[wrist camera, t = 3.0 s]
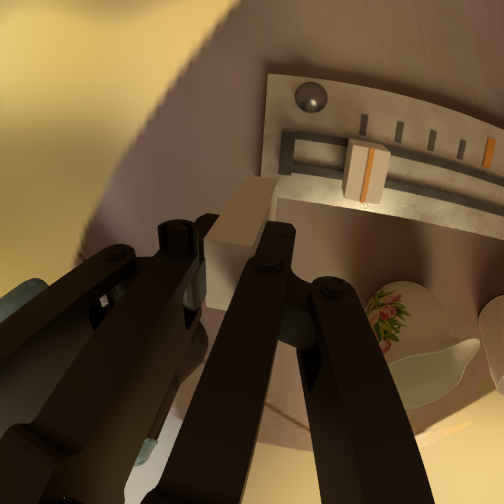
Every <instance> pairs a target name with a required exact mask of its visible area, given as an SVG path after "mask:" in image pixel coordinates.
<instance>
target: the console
mask: <svg viewBox="0 0 504 504" xmlns="http://www.w3.org/2000/svg"><path fill="white" fill-rule="evenodd" d="M349 139H355V140H360V141H365V142H370V143H375V144H380V145H383V146H384V147H385V148H387V149H388V150H389V151H390V152H391V154H390V159H389V165H388V170H387V175H386V180H385V184H384V189H383V194H382V198H381V202H380V205H377V204H371V203H366V202H365V204H364V203H360V201H354V200H348V199H344V196H343V192H342V188H341V186H342V180H343V174H344V167H345V161H346V154H347V148H348V141H349ZM261 177H267V178H275V179H279V183H278V193H277V197H278V198H286V199H293V200H300V201H307V202H314V203H321V204H327V205H333V206H340V207H346V208H352V209H358V210H364V211H369V212H375V213H381V214H386V215H392V216H397V217H402V218H407V219H412V220H417V221H422V222H427V223H432V224H437V225H441V226H446V227H451V228H455V229H460V230H464V231H468V232H473V233H477V234H481V235H485V236H489V237H494V238H498V239H502V240H504V130H503V129H500V128H498V127H496V126H493V125H491V124H488V123H486V122H484V121H481V120H478V119H476V118H473V117H471V116H468V115H465V114H462V113H460V112H457V111H454V110H451V109H448V108H445V107H442V106H439V105H435V104H432V103H429V102H426V101H422V100H419V99H415V98H411V97H408V96H404V95H400V94H396V93H392V92H388V91H383V90H379V89H374V88H369V87H365V86H359V85H354V84H349V83H343V82H337V81H330V80H323V79H316V78H308V77H300V76H290V75H279V74H268V80H267V95H266V109H265V123H264V138H263V152H262V166H261Z"/></svg>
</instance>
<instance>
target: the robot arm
mask: <svg viewBox="0 0 504 504" xmlns="http://www.w3.org/2000/svg"><path fill="white" fill-rule="evenodd" d="M278 183H279V179H275V178H267V177H259V176H250V175H248V176H247V178H246V179H245V181H244V182H243V183H242V185H241V186H240V188H239V189H238V190H237V192H236V193H235V195H234V196H233V197H232V199H231V200H230V202H229V203H228V204H227V206H226V207H225V209H224V210H223V212H222V213H221V214H220V215H217V214H209V213H206V214H204V215H202V216H200V217H198V218H197V220H196V221H195V222H194V223H193V222H192V221H188V220H180V219H176V220H169V221H166V222H163V223H161V224H160V225H158V226H157V227H158V237H159V246H160V249H159V250H158V252H157V253H156V254H155V255H154V256H153V257H136V255H135V251H134V248H132V247H131V246H129V245H125V244H115V245H112V246H109V247H107V248H105V249H103V250H101V251H100V252H98V253H97V254H95V255H94V256H92V257H91V258H89V259H88V260H86V261H85V262H83V263H82V264H80V265H79V266H77V267H76V268H74V269H73V270H71V271H70V272H68V273H67V274H66V275H64V276H63V277H61V278H60V279H58V280H57V281H56V282H54V283H53V284H51V285H50V286H49V285H48V284H47V283H46V282H45V281H43V280H41V279H38V278H32V279H29V280H27V281H25V282H23V283H21V284H20V285H18V286H17V287H16V288H14V289H13V290H11V291H10V292H8V293H7V294H6V295H4V296H3V297H2V298H1V299H0V504H124V502H125V498H124V488H125V485H126V482H127V480H128V478H129V475H130V473H131V470H132V468H133V466H140V465H142V464H144V463H145V462H146V461H147V460H148V458H149V456H150V454H151V452H152V450H153V449H154V447H155V445H156V444H157V442H158V441H157V439H158V437H159V435H160V432H161V430H162V427H163V425H164V422H165V420H166V417H167V415H168V413H169V410H170V408H171V405H172V403H173V401H174V398H175V396H176V393H177V391H178V389H179V386H180V385H181V384H182V383H183V382H184V381H185V380H186V379H187V378H188V377H189V376H190V375H191V374H192V373H193V371H194V370H195V369H196V368H197V367H198V366H199V365H200V364H201V363H202V361H203V359H204V357H205V354H206V352H207V349H208V338H207V334H206V332H205V330H204V328H203V327H202V325H201V324H200V322H199V320H200V318H201V315H202V302H203V300H204V298H205V296H206V307H210V308H215V309H220V310H226V311H227V312H226V314H225V317H224V319H223V322H222V324H221V327H220V329H219V332H218V334H217V337H216V339H215V342H214V344H213V347H212V349H211V352H210V354H209V357H208V359H207V362H206V365H205V367H204V370H203V372H202V375H201V377H200V380H199V382H198V385H197V387H196V390H195V392H194V395H193V397H192V400H191V402H190V405H189V408H188V410H187V413H186V415H185V418H184V420H183V423H182V425H181V428H180V430H179V433H178V435H177V438H176V441H175V443H174V446H173V448H172V451H171V453H170V456H169V458H168V461H167V464H166V466H165V469H164V471H163V474H162V476H161V478H160V481H159V483H158V484H157V486H156V487H155V488H154V489H152V490H151V491H150V492H148V493H147V494H146V496H145V497H144V498H143V500H142V501H141V503H140V504H241V503H242V499H243V495H244V491H245V487H246V483H247V479H248V475H249V471H250V467H251V463H252V459H253V454H254V450H255V446H256V442H257V437H258V433H259V428H260V424H261V419H262V415H263V410H264V406H265V401H266V396H267V392H268V387H269V382H270V377H271V373H272V368H273V363H274V358H275V353H276V347H277V344H278V340H280V341H282V342H284V343H287V344H289V345H291V346H293V347H296V348H297V349H296V354H297V359H298V364H299V370H300V376H301V381H302V387H303V392H304V398H305V404H306V409H307V415H308V421H309V427H310V433H311V439H312V445H313V451H314V457H315V463H316V470H317V476H318V483H319V489H320V496H321V503H322V504H435V502H434V498H433V495H432V492H431V488H430V484H429V481H428V478H427V474H426V471H425V468H424V464H423V461H422V458H421V455H420V452H419V449H418V446H417V443H416V440H415V437H414V434H413V431H412V428H411V425H410V422H409V420H408V417H407V414H406V411H405V409H404V406H403V403H402V400H401V398H400V395H399V393H398V390H397V387H396V385H395V382H394V380H393V377H392V375H391V372H390V370H389V367H388V365H387V362H386V360H385V357H384V355H383V353H382V350H381V348H380V345H379V343H378V341H377V338H376V336H375V334H374V331H373V329H372V327H371V325H370V322H369V320H368V318H367V316H366V313H365V311H364V309H363V307H362V304H361V302H360V300H359V298H358V296H357V294H356V291H355V290H354V288H353V287H352V286H351V284H349V283H348V282H346V281H345V280H343V279H340V278H337V277H331V276H325V277H319V278H317V279H315V280H314V281H313V282H312V283H309V282H306V281H304V280H302V279H300V278H299V277H297V276H296V275H295V274H294V273H293V272H292V270H291V262H292V255H293V249H294V242H295V235H296V229H295V228H294V226H293V225H292V224H290V223H283V222H276V221H275V214H276V204H277V193H278ZM105 294H106V296H107V300H108V303H109V304H107V305H106V306H104V307H102V305H101V302H100V298H101V297H102V296H103V295H105ZM64 497H65V499H64Z"/></svg>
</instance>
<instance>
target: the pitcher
mask: <svg viewBox="0 0 504 504" xmlns="http://www.w3.org/2000/svg"><path fill="white" fill-rule="evenodd" d="M365 313H366V316H367V318H368V320H369V322H370V325H371V327H372V329H373V331H374V334H375V336H376V338H377V341H378V343H379V345H380V348H381V350H382V353H383V355H384V357H385V360H386V362H387V365H388V367H389V370H390V372H391V375H392V377H393V380H394V382H395V385H396V387H397V390H398V393H399V395H400V398H401V400H402V403H403V406H404V409H405V410H411V409H416V408H420V407H423V406H425V405H428V404H430V403H433V402H435V401H436V400H438V399H440V398H442V397H443V396H445V395H446V394H447V393H449V392H450V391H451V390H452V389H453V388H454V387H455V386H456V385H457V384H458V383H459V381H460V380H461V378H462V376H463V373H464V370H465V367H466V365H467V364H468V362H469V361H470V360H471V359H472V358H473V356H474V355H475V354H476V352H477V351H478V349H479V347H480V342H481V341H480V340H479V339H478V338H476V337H467V338H464V339H458V338H455V337H454V334H453V329H452V325H451V322H450V319H449V317H448V315H447V313H446V311H445V309H444V308H443V306H442V305H441V303H440V302H439V301H438V299H437V298H436V297H435V296H434V295H433V294H432V293H431V292H430V291H428V290H427V289H426V288H424V287H423V286H421V285H419V284H416V283H414V282H408V281H395V282H392V283H389V284H387V285H385V286H383V287H382V288H381V289H380V290H379V291H378V292H377V293H376V294H375V295H374V296H373V297H372V298H371V300H370V302H369V303H368V305H367V307H366V310H365Z"/></svg>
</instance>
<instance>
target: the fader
mask: <svg viewBox="0 0 504 504" xmlns="http://www.w3.org/2000/svg"><path fill="white" fill-rule="evenodd" d="M390 154H391V152H390V151H389V150H388V149H387V148H385V147H384V146H383V145H380V144H375V143H370V142H365V141H360V140H355V139H349V141H348V148H347V154H346V161H345V167H344V174H343V180H342V186H341V188H342V192H343V196H344V199H348V200H354V201H360V203H364V204H365V202H366V203H371V204H377V205H380V202H381V198H382V194H383V189H384V184H385V180H386V175H387V170H388V165H389V159H390Z"/></svg>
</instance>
